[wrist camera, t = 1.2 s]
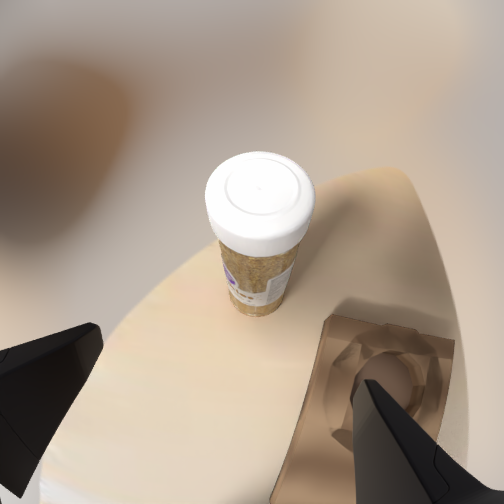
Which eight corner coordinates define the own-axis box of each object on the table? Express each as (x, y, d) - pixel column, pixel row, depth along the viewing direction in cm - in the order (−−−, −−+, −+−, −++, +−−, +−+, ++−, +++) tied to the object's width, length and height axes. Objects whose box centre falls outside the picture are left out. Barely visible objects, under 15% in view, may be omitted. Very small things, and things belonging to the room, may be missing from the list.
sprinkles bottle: (218, 290, 23) (180, 185, 11) (257, 256, 24) (260, 134, 12) (256, 330, 21) (260, 259, 9) (295, 292, 23) (339, 188, 11)
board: (396, 503, 13) (408, 511, 11) (269, 498, 15) (271, 510, 13) (439, 342, 20) (455, 337, 18) (324, 318, 22) (332, 311, 19)
